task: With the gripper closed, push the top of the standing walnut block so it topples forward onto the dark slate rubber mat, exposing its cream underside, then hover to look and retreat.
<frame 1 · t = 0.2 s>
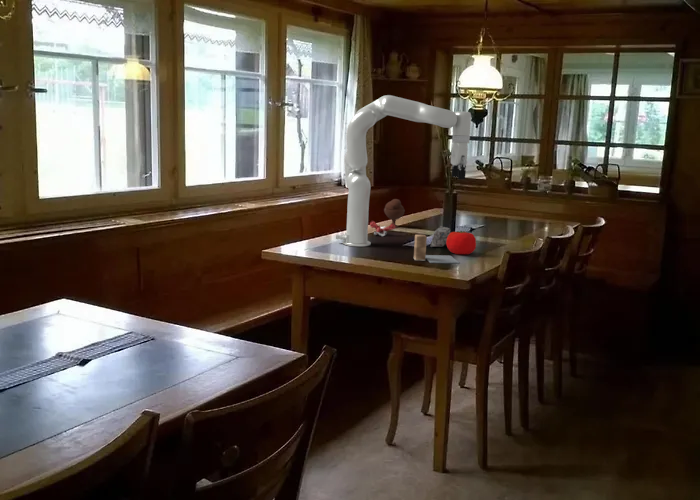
hand: (458, 178, 330), 31 cm above the table, fingers open, 9 cm apart
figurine: (380, 235, 357), on the table
rock: (438, 246, 336), on the table
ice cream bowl: (393, 227, 382), on the table
block: (419, 259, 304), on the table
mat: (440, 259, 305), on the table
tomato: (460, 254, 319), on the table
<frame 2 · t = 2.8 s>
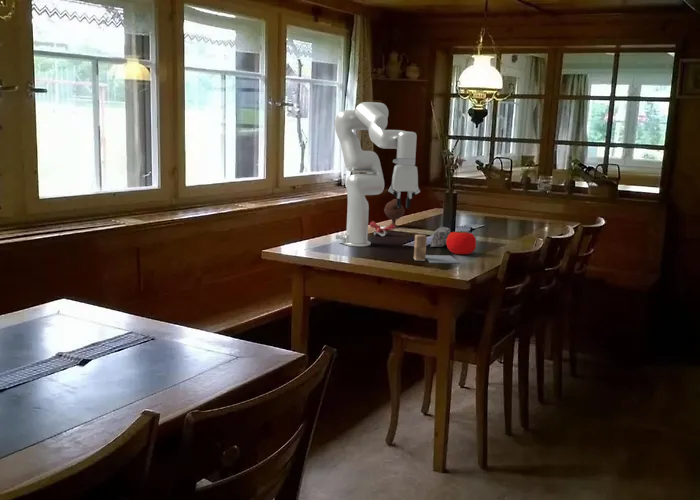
hand: (403, 207, 298), 21 cm above the table, fingers closed
nothing on the table moved.
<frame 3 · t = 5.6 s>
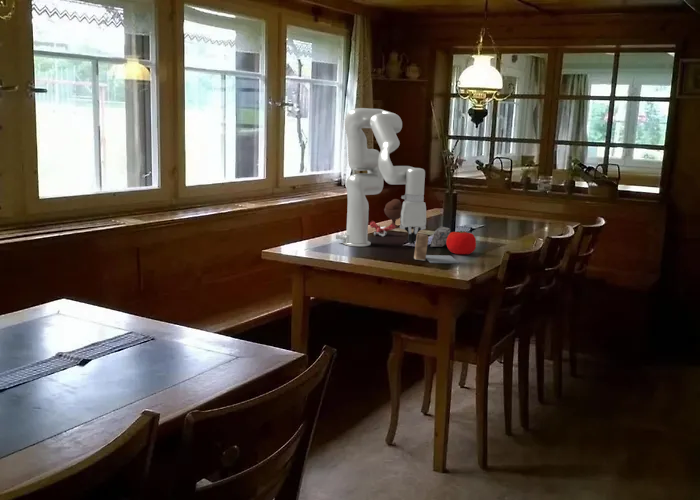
hand: (411, 243, 302), 7 cm above the table, fingers closed
nothing on the table moved.
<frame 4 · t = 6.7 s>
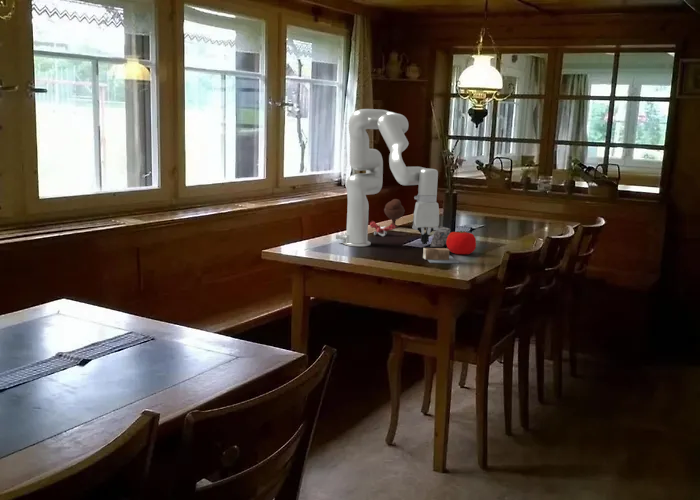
hand: (424, 243, 302), 7 cm above the table, fingers closed
block: (424, 253, 303), point 2 cm above the table, tilted 90°, touching mat
everything else where it was.
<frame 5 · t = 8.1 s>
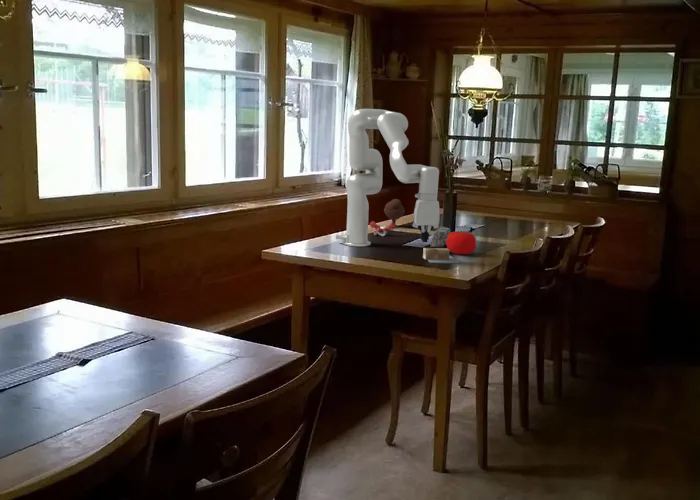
hand: (424, 241, 303), 7 cm above the table, fingers closed
nothing on the table moved.
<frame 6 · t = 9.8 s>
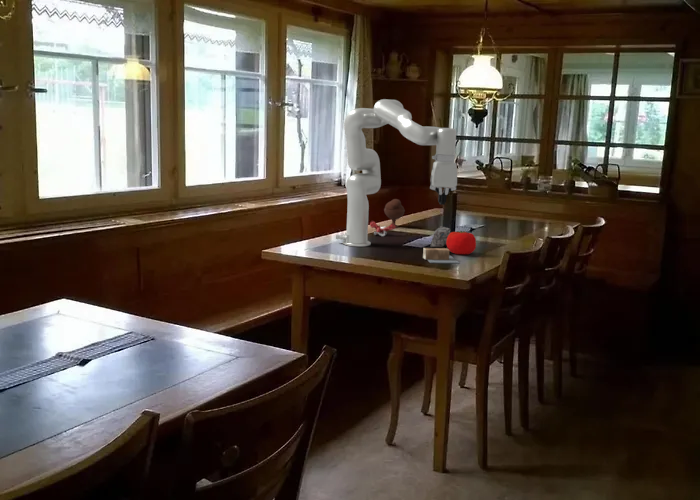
hand: (442, 204, 300), 23 cm above the table, fingers closed
nothing on the table moved.
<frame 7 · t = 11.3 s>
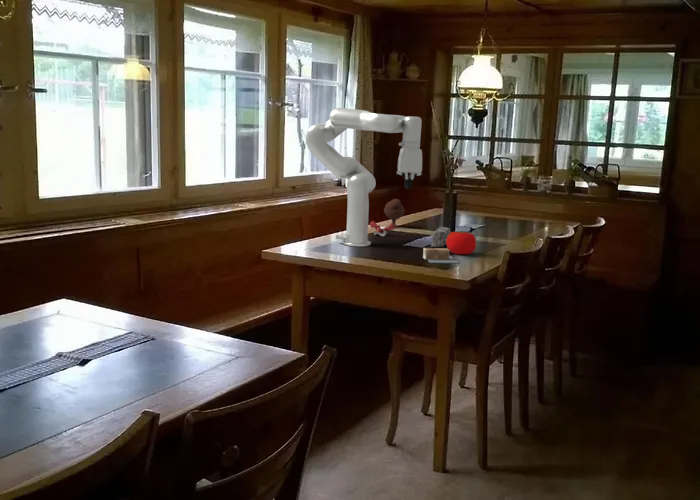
hand: (408, 188, 318), 27 cm above the table, fingers closed
nothing on the table moved.
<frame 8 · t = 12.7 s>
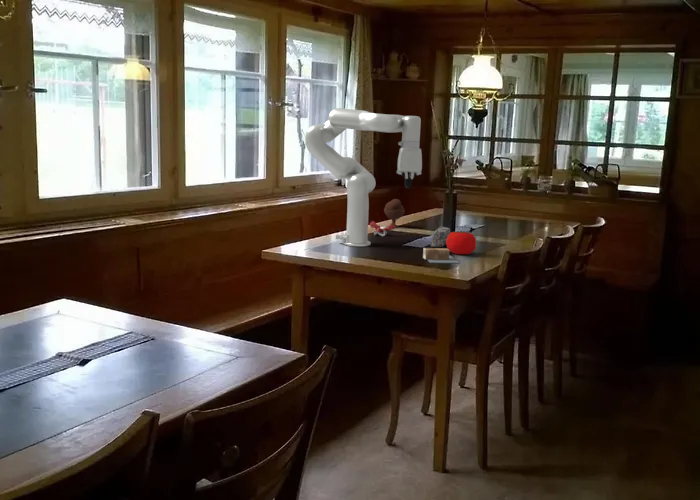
hand: (408, 187, 319), 27 cm above the table, fingers closed
nothing on the table moved.
at the end: block tilted 90°; block inside the target area on the mat (7.1 cm from its centre), point 2.4 cm above the mat's base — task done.
